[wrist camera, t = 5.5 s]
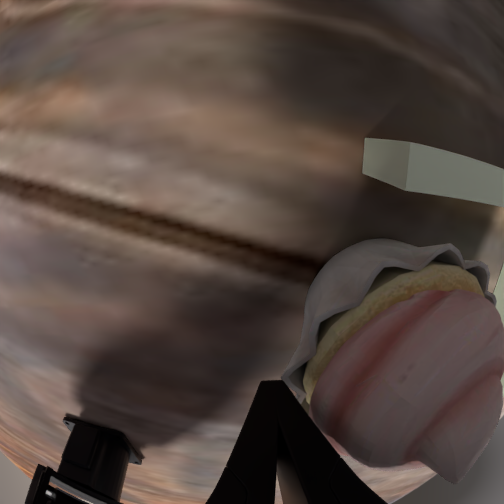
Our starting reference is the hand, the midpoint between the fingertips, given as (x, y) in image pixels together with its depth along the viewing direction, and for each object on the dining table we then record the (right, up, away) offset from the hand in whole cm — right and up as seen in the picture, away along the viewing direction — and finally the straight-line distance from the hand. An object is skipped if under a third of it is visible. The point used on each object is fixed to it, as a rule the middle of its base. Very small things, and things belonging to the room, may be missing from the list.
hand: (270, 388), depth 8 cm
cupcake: (+5, +2, +5) cm, 7 cm away
